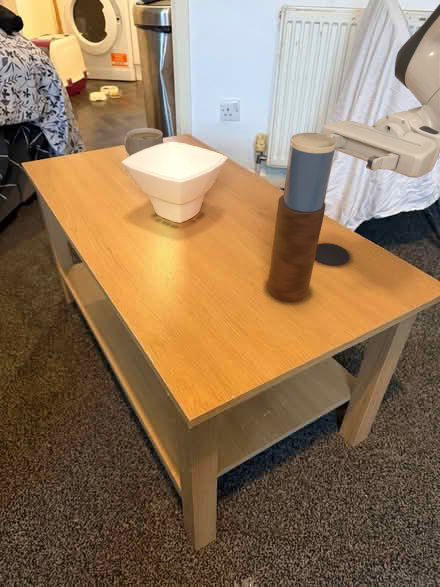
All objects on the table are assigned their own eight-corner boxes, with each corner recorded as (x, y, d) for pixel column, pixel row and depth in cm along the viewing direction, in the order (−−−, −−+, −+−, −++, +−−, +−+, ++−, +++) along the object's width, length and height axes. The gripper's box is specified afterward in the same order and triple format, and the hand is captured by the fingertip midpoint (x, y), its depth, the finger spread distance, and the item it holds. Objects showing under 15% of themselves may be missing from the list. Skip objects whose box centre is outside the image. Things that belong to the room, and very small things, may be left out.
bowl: (172, 191, 109) (169, 138, 101) (232, 212, 101) (235, 156, 92) (121, 218, 97) (113, 160, 88) (185, 245, 89) (182, 184, 80)
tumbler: (325, 196, 68) (337, 135, 62) (323, 214, 63) (336, 150, 57) (284, 191, 69) (293, 130, 63) (280, 209, 64) (288, 145, 58)
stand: (308, 280, 80) (325, 194, 69) (307, 304, 74) (325, 215, 63) (269, 275, 81) (280, 189, 70) (265, 298, 75) (276, 210, 64)
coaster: (348, 247, 90) (348, 245, 89) (349, 267, 84) (350, 266, 83) (311, 242, 91) (311, 241, 91) (310, 262, 85) (310, 261, 84)
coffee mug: (171, 169, 121) (169, 134, 115) (143, 177, 116) (139, 142, 109) (146, 156, 129) (143, 122, 122) (118, 163, 123) (113, 129, 117)
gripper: (351, 108, 79) (302, 120, 72) (454, 137, 66) (407, 155, 59) (344, 141, 83) (297, 155, 76) (440, 174, 70) (394, 195, 63)
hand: (346, 155), depth 67 cm, fingers open, 8 cm apart
